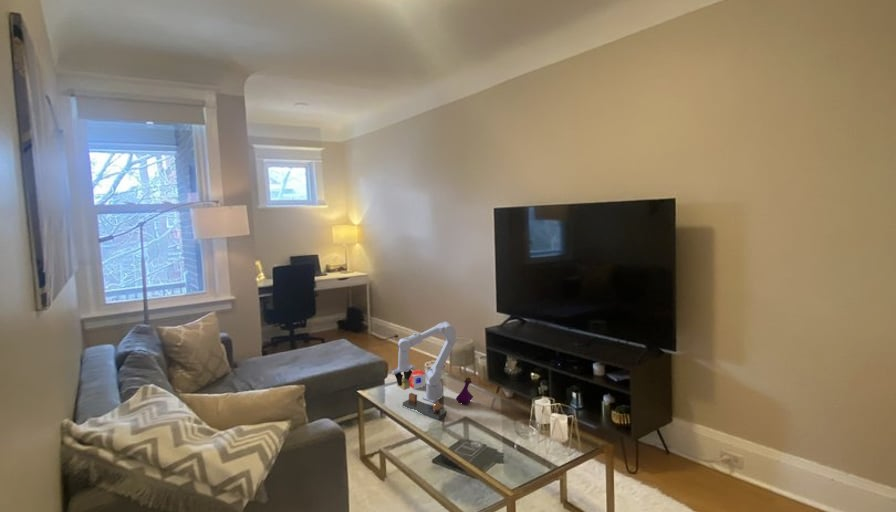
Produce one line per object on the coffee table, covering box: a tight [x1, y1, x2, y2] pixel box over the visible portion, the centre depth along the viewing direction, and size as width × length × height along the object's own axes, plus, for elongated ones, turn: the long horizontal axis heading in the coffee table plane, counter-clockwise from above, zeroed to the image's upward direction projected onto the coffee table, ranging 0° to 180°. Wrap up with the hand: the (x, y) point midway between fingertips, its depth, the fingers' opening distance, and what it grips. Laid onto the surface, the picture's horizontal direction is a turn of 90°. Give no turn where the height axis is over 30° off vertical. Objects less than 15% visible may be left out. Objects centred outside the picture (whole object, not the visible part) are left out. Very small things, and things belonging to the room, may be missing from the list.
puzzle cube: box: [409, 369, 427, 390], centre depth 282 cm, size 8×8×8 cm
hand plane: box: [402, 392, 448, 421], centre depth 249 cm, size 7×24×7 cm, turn 55°
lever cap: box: [396, 377, 411, 391], centre depth 259 cm, size 4×6×4 cm, turn 45°
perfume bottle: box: [455, 371, 474, 405], centre depth 260 cm, size 8×8×18 cm
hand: (402, 384), depth 260 cm, fingers closed on lever cap, 4 cm apart
